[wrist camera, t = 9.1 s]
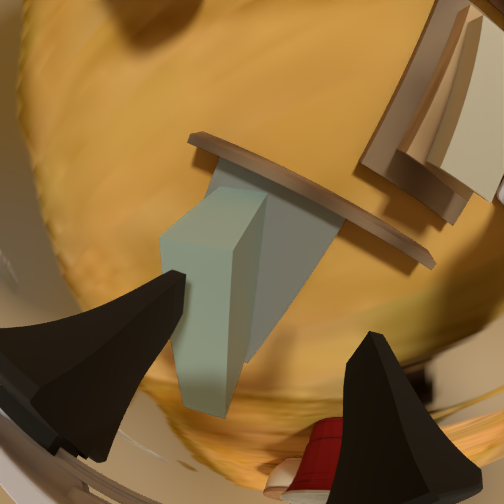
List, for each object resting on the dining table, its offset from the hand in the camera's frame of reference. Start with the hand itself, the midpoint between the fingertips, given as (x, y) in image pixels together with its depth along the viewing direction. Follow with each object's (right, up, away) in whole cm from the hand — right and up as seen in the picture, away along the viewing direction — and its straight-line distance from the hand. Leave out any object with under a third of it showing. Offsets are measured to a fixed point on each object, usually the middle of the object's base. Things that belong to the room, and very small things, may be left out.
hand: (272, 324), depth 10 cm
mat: (-2, +1, +12) cm, 12 cm away
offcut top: (+12, +11, 0) cm, 16 cm away
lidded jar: (+8, -36, +29) cm, 47 cm away
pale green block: (-2, +1, +11) cm, 11 cm away
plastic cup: (+10, -20, +21) cm, 31 cm away
